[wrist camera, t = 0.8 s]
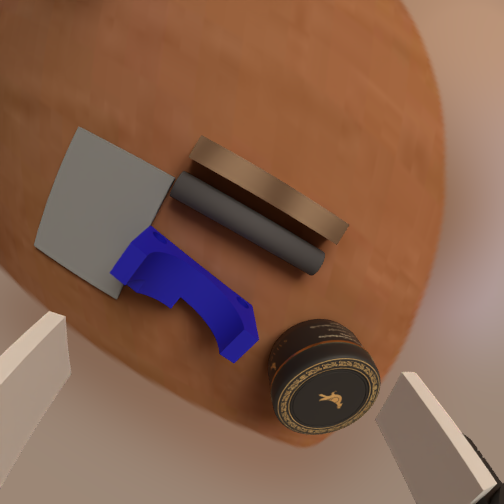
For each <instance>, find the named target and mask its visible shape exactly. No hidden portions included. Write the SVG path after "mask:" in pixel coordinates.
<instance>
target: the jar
mask: <svg viewBox="0 0 504 504" xmlns="http://www.w3.org/2000/svg"><path fill="white" fill-rule="evenodd" d="M268 375H269V381H270V394H271V400H272V403H273V408H274V411H275V414H276V416H277V418H278V419H279V421H280V422H281V423H282V424H283V425H284V426H286V427H287V428H289V429H290V430H292V431H295V432H298V433H302V434H311V435H316V434H325V433H330V432H334V431H337V430H340V429H342V428H345V427H347V426H349V425H350V424H352V423H354V422H355V421H357V420H358V419H359V418H361V417H362V416H363V415H364V414H365V413H366V412H367V411H368V410H369V409H370V408H371V406H372V405H373V404H374V402H375V400H376V398H377V396H378V393H379V390H380V375H379V372H378V369H377V367H376V365H375V364H374V361H373V359H372V357H371V356H370V354H369V353H368V352H367V351H366V350H365V349H364V348H363V346H362V345H361V343H360V342H359V340H358V339H357V338H356V336H355V335H354V334H353V333H352V332H351V331H350V330H349V329H347V328H346V327H344V326H342V325H341V324H339V323H337V322H334V321H331V320H326V319H314V320H308V321H304V322H301V323H299V324H297V325H295V326H293V327H291V328H290V329H288V330H287V331H286V332H284V333H283V334H282V335H281V336H280V337H279V339H278V340H277V341H276V343H275V344H274V346H273V348H272V351H271V354H270V358H269V362H268Z"/></svg>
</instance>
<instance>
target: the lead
mask: <svg viewBox="0 0 504 504" xmlns="http://www.w3.org/2000/svg"><path fill="white" fill-rule="evenodd" d="M170 196H171V197H173V198H175V199H177V200H178V201H180V202H182V203H184V204H185V205H187V206H189V207H191V208H193V209H194V210H196V211H198V212H200V213H202V214H203V215H205V216H207V217H209V218H210V219H212V220H214V221H216V222H218V223H219V224H221V225H223V226H225V227H226V228H228V229H230V230H232V231H234V232H235V233H237V234H239V235H241V236H242V237H244V238H246V239H248V240H249V241H251V242H253V243H255V244H256V245H258V246H260V247H262V248H264V249H265V250H267V251H269V252H271V253H272V254H274V255H276V256H278V257H279V258H281V259H283V260H285V261H286V262H288V263H290V264H292V265H293V266H295V267H297V268H299V269H300V270H302V271H304V272H306V273H307V274H309V275H314V274H315V273H316V272H317V271H318V270H319V269H320V267H321V265H322V264H323V261H324V258H325V253H324V252H323V251H321V250H320V249H318V248H316V247H315V246H313V245H311V244H310V243H308V242H307V241H305V240H303V239H302V238H300V237H298V236H297V235H295V234H293V233H292V232H290V231H288V230H287V229H285V228H283V227H282V226H280V225H278V224H276V223H275V222H273V221H271V220H270V219H268V218H266V217H265V216H263V215H261V214H259V213H258V212H256V211H254V210H253V209H251V208H249V207H247V206H246V205H244V204H242V203H240V202H239V201H237V200H235V199H233V198H232V197H230V196H228V195H226V194H225V193H223V192H221V191H219V190H218V189H216V188H214V187H212V186H210V185H209V184H207V183H205V182H203V181H202V180H200V179H198V178H196V177H194V176H193V175H191V174H189V173H187V172H185V171H183V172H182V173H181V174H180V176H179V177H178V179H177V180H176V182H175V184H174V186H173V188H172V190H171V192H170Z"/></svg>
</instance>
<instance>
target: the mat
mask: <svg viewBox="0 0 504 504" xmlns="http://www.w3.org/2000/svg"><path fill="white" fill-rule="evenodd" d="M174 180H175V177H173V176H171V175H169V174H167V173H166V172H164V171H162V170H160V169H158V168H156V167H155V166H153V165H151V164H149V163H147V162H145V161H144V160H142V159H140V158H138V157H136V156H134V155H132V154H130V153H129V152H127V151H125V150H123V149H121V148H119V147H117V146H115V145H114V144H112V143H110V142H108V141H106V140H104V139H102V138H100V137H98V136H96V135H95V134H93V133H91V132H89V131H87V130H85V129H83V128H81V127H78V129H77V131H76V133H75V135H74V137H73V139H72V141H71V143H70V146H69V148H68V150H67V152H66V155H65V157H64V159H63V162H62V164H61V167H60V169H59V171H58V174H57V176H56V179H55V182H54V184H53V187H52V190H51V192H50V195H49V198H48V201H47V204H46V207H45V210H44V213H43V216H42V219H41V222H40V226H39V229H38V232H37V236H36V239H35V243H34V246H35V247H37V248H38V249H39V250H41V251H42V252H44V253H45V254H46V255H48V256H49V257H51V258H52V259H54V260H55V261H57V262H58V263H60V264H61V265H62V266H64V267H65V268H67V269H68V270H70V271H72V272H73V273H75V274H76V275H78V276H79V277H81V278H82V279H84V280H85V281H87V282H89V283H90V284H92V285H93V286H95V287H97V288H98V289H100V290H102V291H103V292H105V293H107V294H108V295H110V296H112V297H113V298H115V299H117V298H118V297H119V295H120V292H121V290H122V287H123V285H124V284H122V283H121V282H120V281H119V280H117V279H116V278H115V277H114V276H113V275H111V274H110V271H111V270H112V268H113V267H114V266H115V264H116V263H117V261H118V260H119V258H120V257H121V255H122V254H123V253H124V251H125V250H126V248H127V247H128V246H129V244H130V243H131V242H132V241H133V240H134V239H135V238H136V237H137V236H139V235H140V234H141V233H142V232H143V231H144V230H145V229H147V228H148V227H149V226H150V225H151V224H152V222H153V220H154V218H155V216H156V214H157V212H158V210H159V208H160V206H161V204H162V203H163V201H164V199H165V197H166V195H167V193H168V191H169V189H170V187H171V186H172V184H173V182H174Z"/></svg>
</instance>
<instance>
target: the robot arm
mask: <svg viewBox="0 0 504 504" xmlns="http://www.w3.org/2000/svg"><path fill="white" fill-rule="evenodd" d="M70 375H71V369H70V362H69V352H68V342H67V331H66V317H65V316H62V315H59V314H56V313H53V312H50V311H49V312H48V313H46V314H45V315H44V316H43V317H42V318H41V319H40V320H39V321H38V322H36V323H35V324H34V325H33V326H32V327H31V328H30V329H29V330H28V331H26V332H25V333H24V334H23V335H22V336H21V337H20V338H19V339H18V340H17V341H16V342H15V343H13V344H12V345H11V346H10V348H8V349H7V350H6V351H5V352H4V353H3V354H2V355H1V356H0V488H1V487H2V485H3V483H4V481H5V479H6V477H7V476H8V474H9V472H10V470H11V468H12V466H13V465H14V463H15V461H16V460H17V458H18V456H19V454H20V453H21V451H22V449H23V448H24V446H25V444H26V443H27V441H28V439H29V438H30V436H31V434H32V433H33V431H34V430H35V428H36V426H37V425H38V423H39V422H40V420H41V419H42V417H43V415H44V414H45V412H46V410H47V409H48V408H49V406H50V405H51V403H52V402H53V400H54V398H55V397H56V396H57V394H58V393H59V391H60V390H61V388H62V387H63V385H64V384H65V382H66V381H67V379H68V378H69V377H70ZM375 420H376V422H377V424H378V426H379V428H380V430H381V432H382V434H383V436H384V438H385V440H386V442H387V444H388V446H389V448H390V450H391V452H392V454H393V456H394V458H395V460H396V462H397V464H398V466H399V469H400V471H401V473H402V475H403V477H404V479H405V481H406V483H407V485H408V487H409V489H410V491H411V493H412V495H413V498H414V500H415V502H416V504H504V483H502V482H501V481H500V480H499V479H498V477H497V476H496V474H495V473H494V471H493V470H492V468H491V467H490V465H489V464H488V463H487V461H486V460H485V458H482V454H481V453H480V451H477V447H476V446H475V445H474V443H473V442H472V441H471V439H469V438H468V437H467V436H466V435H464V434H463V433H461V431H460V430H459V429H458V427H457V426H456V424H455V423H454V422H453V420H452V419H451V418H450V417H449V415H448V414H447V412H446V411H445V410H444V408H443V407H442V406H441V404H440V403H439V402H438V401H437V399H436V398H435V397H434V395H433V394H432V393H431V392H430V390H429V389H428V388H427V387H426V385H425V384H424V383H423V382H422V380H421V379H420V378H419V376H418V375H417V374H416V372H401V374H400V376H399V378H398V380H397V382H396V384H395V386H394V388H393V389H392V391H391V393H390V395H389V397H388V398H387V400H386V402H385V404H384V405H383V407H382V409H381V410H380V412H379V414H378V415H377V417H376V419H375Z"/></svg>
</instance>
